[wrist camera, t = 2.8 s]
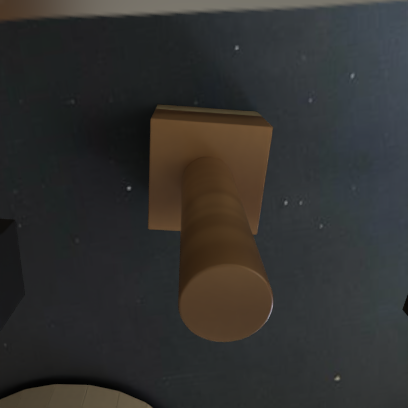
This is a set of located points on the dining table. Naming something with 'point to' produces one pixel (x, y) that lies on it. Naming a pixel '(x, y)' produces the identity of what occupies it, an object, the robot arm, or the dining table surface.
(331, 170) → the dining table surface
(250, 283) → the brown wooden stamp
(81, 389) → the bowl
